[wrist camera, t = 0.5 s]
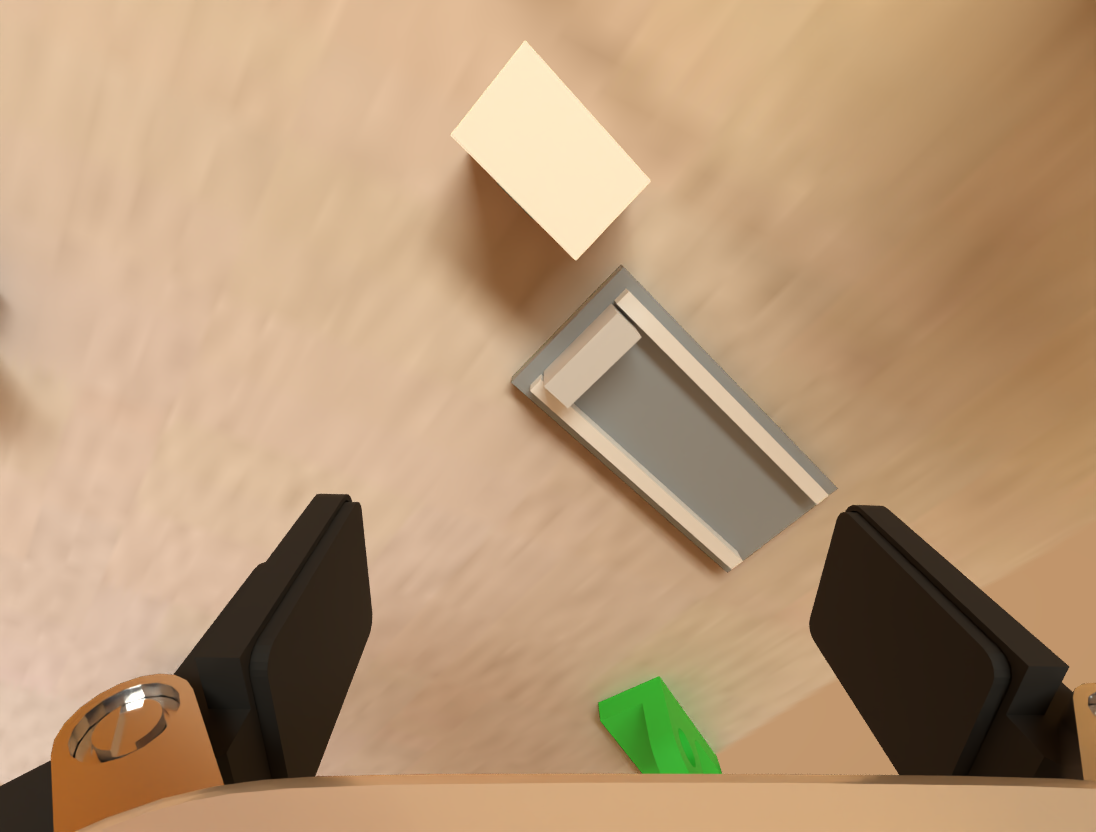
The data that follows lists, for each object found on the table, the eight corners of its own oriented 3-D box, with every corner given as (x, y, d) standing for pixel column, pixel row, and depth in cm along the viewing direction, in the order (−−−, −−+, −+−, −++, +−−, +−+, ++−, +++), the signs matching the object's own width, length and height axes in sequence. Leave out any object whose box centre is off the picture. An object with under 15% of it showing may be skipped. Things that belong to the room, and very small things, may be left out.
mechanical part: (597, 700, 48) (608, 793, 40) (658, 673, 47) (680, 763, 39) (659, 778, 52) (678, 875, 44) (716, 755, 51) (746, 851, 43)
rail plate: (621, 264, 33) (631, 273, 29) (829, 480, 39) (860, 511, 35) (512, 376, 36) (508, 398, 32) (722, 562, 42) (740, 600, 38)
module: (529, 72, 30) (526, 39, 23) (629, 182, 32) (651, 179, 25) (469, 148, 31) (449, 135, 24) (568, 248, 33) (575, 261, 27)
